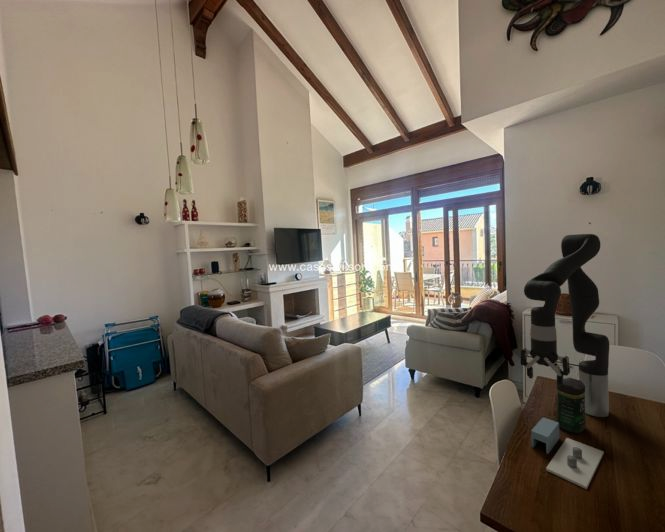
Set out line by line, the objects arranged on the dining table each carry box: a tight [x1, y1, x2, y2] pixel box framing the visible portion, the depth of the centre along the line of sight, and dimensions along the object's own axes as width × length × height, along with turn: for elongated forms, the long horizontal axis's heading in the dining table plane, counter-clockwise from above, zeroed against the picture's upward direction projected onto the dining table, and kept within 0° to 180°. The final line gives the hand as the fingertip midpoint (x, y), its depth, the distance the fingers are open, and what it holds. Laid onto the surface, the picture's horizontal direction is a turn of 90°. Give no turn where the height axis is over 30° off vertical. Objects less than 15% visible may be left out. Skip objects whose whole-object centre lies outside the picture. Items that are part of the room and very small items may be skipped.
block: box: [530, 417, 560, 455], centre depth 107 cm, size 12×5×6 cm, turn 128°
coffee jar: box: [556, 377, 587, 434], centre depth 114 cm, size 10×8×19 cm
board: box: [545, 437, 605, 490], centre depth 97 cm, size 22×10×3 cm, turn 128°
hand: (544, 381), depth 105 cm, fingers open, 8 cm apart
